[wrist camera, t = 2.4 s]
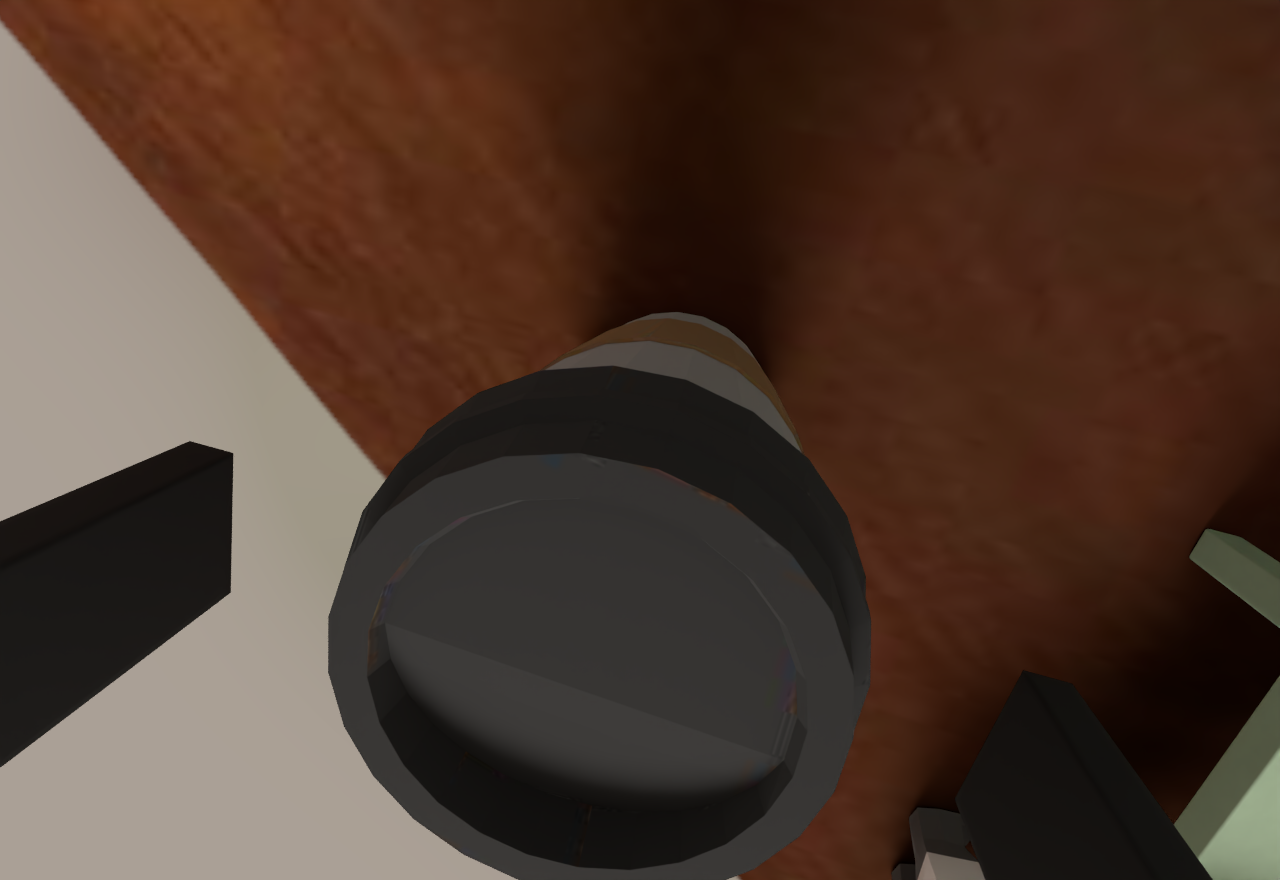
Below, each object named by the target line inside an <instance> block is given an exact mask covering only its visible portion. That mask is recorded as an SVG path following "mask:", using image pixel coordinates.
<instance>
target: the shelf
mask: <svg viewBox="0 0 1280 880" xmlns="http://www.w3.org/2000/svg"><path fill="white" fill-rule="evenodd" d="M1189 558H1190V559H1191V560H1192V561H1193V562H1195V563H1196V564H1197V565H1199V566H1200V567H1201V568H1202V569H1204V570H1205V571H1206V572H1208V573H1209V574H1210V575H1211V576H1213V577H1214V578H1215V579H1217V580H1218V581H1219V582H1221V583H1222V584H1223V585H1224V586H1226V587H1227V588H1228V589H1230V590H1231V591H1232V592H1234V593H1235V594H1236V595H1237V596H1239V597H1240V598H1241V599H1243V600H1244V601H1245V602H1246V603H1248V604H1249V605H1250V606H1252V607H1253V608H1254V609H1256V610H1257V611H1258V612H1259V613H1261V614H1262V615H1263V616H1265V617H1266V618H1267V619H1268V620H1270V621H1271V622H1272V623H1274V624H1275V625H1276V626H1278V627H1279V628H1280V562H1278V561H1277V560H1275V559H1274V558H1272V557H1271V556H1269V555H1267V554H1266V553H1264V552H1263V551H1261V550H1260V549H1258V548H1257V547H1255V546H1254V545H1252V544H1251V543H1249V542H1248V541H1246V540H1244V539H1243V538H1241V537H1238V536H1234V535H1231V534H1227V533H1223V532H1219V531H1215V530H1212V529H1206V530H1205V531H1204V533H1203V534H1202V536H1201V538H1200V539H1199V541H1198V543H1197V544H1196V546H1195V548H1194V549H1193V551H1192V553H1191V554H1190V556H1189ZM1174 826H1175V827H1176V829H1177V830H1178V832H1179V833H1180V834H1181V836H1182V837H1183V839H1184V840H1185V841H1186V843H1187V844H1188V846H1189V847H1190V848H1191V850H1192V851H1193V853H1194V854H1195V855H1196V857H1197V858H1198V859H1199V861H1200V862H1201V864H1202V865H1203V866H1204V868H1205V869H1206V871H1207V872H1208V873H1209V875H1210V876H1211V878H1212V879H1213V880H1280V676H1279V677H1278V679H1277V680H1276V681H1275V683H1274V684H1273V686H1272V687H1271V688H1270V690H1269V691H1268V693H1267V694H1266V695H1265V697H1264V698H1263V700H1262V701H1261V702H1260V704H1259V705H1258V707H1257V708H1256V709H1255V711H1254V712H1253V714H1252V715H1251V717H1250V718H1249V719H1248V721H1247V722H1246V724H1245V725H1244V726H1243V728H1242V729H1241V731H1240V732H1239V733H1238V735H1237V736H1236V738H1235V739H1234V740H1233V742H1232V743H1231V745H1230V746H1229V748H1228V749H1227V750H1226V752H1225V753H1224V755H1223V756H1222V757H1221V759H1220V760H1219V762H1218V763H1217V764H1216V766H1215V767H1214V769H1213V770H1212V771H1211V773H1210V774H1209V776H1208V777H1207V778H1206V780H1205V781H1204V783H1203V784H1202V786H1201V787H1200V788H1199V790H1198V791H1197V793H1196V794H1195V795H1194V797H1193V798H1192V800H1191V801H1190V802H1189V804H1188V805H1187V807H1186V808H1185V809H1184V811H1183V812H1182V814H1181V815H1180V816H1179V818H1178V819H1177V821H1176V822H1175V824H1174Z"/></svg>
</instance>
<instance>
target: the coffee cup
mask: <svg viewBox="0 0 1280 880" xmlns="http://www.w3.org/2000/svg"><path fill="white" fill-rule="evenodd" d="M865 596H866V576H865V573H864V570H863V567H862V563H861V560H860V557H859V554H858V550H857V547H856V544H855V541H854V537H853V534H852V531H851V528H850V524H849V521H848V518H847V515H846V514H845V512H844V511H843V509H842V508H841V506H840V505H839V503H838V502H837V500H836V499H835V497H834V496H833V494H832V493H831V491H830V490H829V488H828V487H827V485H826V484H825V482H824V481H823V480H822V478H821V477H820V475H819V474H818V472H817V471H816V469H815V468H814V466H813V465H812V463H811V462H810V460H809V459H808V458H807V457H806V456H805V455H804V452H803V449H802V446H801V443H800V440H799V437H798V434H797V432H796V430H795V428H794V426H793V424H792V422H791V420H790V418H789V416H788V414H787V412H786V410H785V408H784V406H783V404H782V402H781V400H780V398H779V396H778V395H777V393H776V391H775V389H774V387H773V385H772V383H771V382H770V380H769V379H768V377H767V376H766V374H765V373H764V371H763V370H762V369H761V367H760V365H759V363H758V362H757V360H756V359H755V357H754V356H753V354H752V353H751V351H750V350H749V348H748V347H747V345H746V344H744V343H743V342H742V341H741V340H740V339H739V338H738V337H736V336H735V335H734V334H733V333H732V332H731V331H729V330H728V329H727V328H726V327H723V326H721V325H719V324H717V323H715V322H713V321H711V320H709V319H707V318H705V317H702V316H697V315H691V314H686V313H681V312H670V313H658V314H650V315H648V316H645V317H642V318H639V319H636V320H634V321H631V322H628V323H626V324H625V325H623V326H620V327H617V328H614V329H611V330H608V331H606V332H604V333H602V334H601V335H599V336H597V337H595V338H593V339H591V340H589V341H588V342H586V343H584V344H582V345H580V346H578V347H576V348H575V349H573V350H571V351H569V352H567V353H565V354H563V355H562V356H560V357H559V358H557V359H556V360H554V361H553V362H551V363H550V364H549V365H547V366H546V367H544V368H543V369H541V370H540V371H538V372H535V373H533V374H530V375H527V376H524V377H521V378H519V379H516V380H513V381H510V382H507V383H504V384H502V385H499V386H496V387H493V388H490V389H487V390H485V391H482V392H479V393H477V394H476V395H474V396H473V397H472V398H470V399H469V400H468V401H466V402H465V403H464V404H462V405H461V406H459V407H458V408H457V409H455V410H454V411H453V412H451V413H450V414H448V415H447V416H446V417H444V418H443V419H442V420H440V421H439V422H437V423H436V424H435V425H433V426H432V427H431V428H429V429H428V430H427V431H426V433H425V434H424V435H423V437H422V438H421V439H420V441H419V442H418V443H417V445H416V446H415V447H414V449H413V450H411V451H410V452H409V453H407V454H406V455H405V456H404V457H403V458H402V459H401V460H400V461H399V463H398V464H397V465H396V467H395V468H394V469H393V471H392V472H391V474H390V475H389V476H388V478H387V479H386V480H385V482H384V483H383V484H382V486H381V487H380V489H379V490H378V491H377V493H376V494H375V496H374V497H373V498H372V499H371V501H370V502H369V503H368V505H367V506H366V508H365V509H364V510H363V512H362V515H361V518H360V521H359V524H358V527H357V530H356V534H355V536H354V539H353V542H352V546H351V549H350V552H349V555H348V558H347V561H346V564H345V567H344V571H343V574H342V577H341V580H340V583H339V586H338V589H337V593H336V596H335V599H334V602H333V605H332V608H331V611H330V614H329V624H328V625H329V629H328V630H329V631H328V634H329V635H328V638H329V641H328V642H329V644H328V646H329V647H328V648H329V649H328V650H329V651H328V653H329V654H328V659H329V660H328V663H329V664H328V673H329V676H330V680H331V683H332V686H333V689H334V693H335V697H336V700H337V704H338V707H339V710H340V714H341V717H342V721H343V724H344V727H345V729H346V730H347V732H348V734H349V735H350V737H351V739H352V741H353V742H354V744H355V746H356V747H357V749H358V751H359V752H360V754H361V756H362V757H363V759H364V761H365V763H366V764H367V766H368V768H369V769H370V771H371V773H372V774H373V776H374V777H375V778H376V779H377V780H378V781H379V783H380V784H382V786H383V787H384V788H385V789H386V790H387V791H388V792H389V793H390V794H391V795H392V796H393V797H394V798H395V799H396V801H397V802H399V804H400V805H401V806H402V807H403V808H404V809H405V810H406V811H407V812H408V813H409V814H410V816H412V818H413V819H414V820H416V821H417V822H419V823H420V824H421V825H423V826H425V827H426V828H427V829H428V830H430V831H431V832H433V833H434V834H435V835H437V836H438V837H440V838H441V839H442V840H444V841H445V842H447V843H448V844H450V845H451V846H453V847H454V848H455V849H457V850H458V851H459V852H461V853H463V854H464V855H466V856H468V857H470V858H472V859H475V860H477V861H479V862H481V863H483V864H485V865H488V866H490V867H492V868H494V869H496V870H498V871H501V872H503V873H505V874H507V875H509V876H511V877H514V878H516V879H518V880H727V879H729V878H732V877H735V876H737V875H740V874H743V873H745V872H748V871H750V870H753V869H754V868H756V867H757V866H759V865H760V864H761V863H763V862H764V861H766V860H767V859H768V858H770V857H771V856H773V855H774V854H776V853H777V852H778V851H780V850H781V849H783V848H784V847H785V846H787V845H788V844H790V843H791V842H792V841H794V840H795V839H797V838H798V837H799V836H800V835H801V834H802V833H803V831H804V830H805V829H806V827H807V826H808V825H809V824H810V822H811V821H812V820H813V818H814V817H815V816H816V815H817V813H818V812H819V811H820V809H821V808H822V807H823V806H824V804H825V803H826V802H827V800H828V799H829V798H830V797H831V795H832V794H833V793H834V791H835V788H836V785H837V783H838V780H839V777H840V774H841V771H842V768H843V766H844V763H845V760H846V757H847V754H848V751H849V748H850V746H851V743H852V740H853V732H854V729H855V726H856V723H857V720H858V717H859V715H860V712H861V709H862V706H863V703H864V700H865V698H866V695H867V692H868V689H869V686H870V656H871V618H870V612H869V608H868V605H867V602H866V598H865Z"/></svg>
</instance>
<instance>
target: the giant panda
mask: <svg viewBox="0 0 1280 880" xmlns="http://www.w3.org/2000/svg"><path fill="white" fill-rule="evenodd" d="M909 823H910V831H911V838H912V844H913V850H914V856H915V864H899V865H898V866H897V867H896V868H895V869H894V871H893V872H892V873H891V874H892V880H985V878H984V875H983V873H982V870H981V868H980V865H979V862H978V860H977V859H976V858H975V857H974V856H973V855H972V854H971V853H970V852H969V851H968V850H967V849H966V848H965V846H966V845H967V844H968V843H969V841H970V838H969V836H968V833H967V830H966V828H965V825H964V823H963V820H962V817H961V815H960V814H958V813H954V812H950V811H946V810H942V809H933V808H917V809H916V810H915V811H914V812H913V814H912V815H911V816H910V817H909Z"/></svg>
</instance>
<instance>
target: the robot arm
mask: <svg viewBox="0 0 1280 880" xmlns="http://www.w3.org/2000/svg"><path fill="white" fill-rule="evenodd" d="M232 492H233V453H231V452H227V451H224V450H220V449H216V448H213V447H209V446H205V445H202V444H198V443H194V442H191V441H189V442H187V443H184V444H182V445H180V446H177V447H175V448H173V449H170V450H168V451H166V452H163V453H161V454H159V455H156V456H154V457H151V458H149V459H147V460H144V461H142V462H140V463H137V464H135V465H133V466H130V467H128V468H126V469H123V470H121V471H119V472H116V473H114V474H111V475H109V476H107V477H104V478H102V479H100V480H97V481H95V482H93V483H90V484H88V485H85V486H83V487H81V488H78V489H76V490H74V491H71V492H69V493H66V494H64V495H62V496H59V497H57V498H55V499H52V500H50V501H48V502H45V503H43V504H41V505H38V506H36V507H33V508H31V509H29V510H26V511H24V512H22V513H19V514H17V515H15V516H12V517H10V518H7V519H5V520H3V521H0V767H2V766H3V765H4V764H6V763H7V762H8V761H9V760H11V759H12V758H13V757H15V756H16V755H17V754H19V753H20V752H21V751H23V750H24V749H25V748H27V747H28V746H29V745H31V744H32V743H33V742H35V741H36V740H37V739H38V738H40V737H41V736H42V735H44V734H45V733H46V732H48V731H49V730H50V729H51V728H53V727H54V726H56V725H57V724H58V723H60V722H61V721H62V720H63V719H65V718H66V717H67V716H69V715H70V714H71V713H73V712H74V711H75V710H77V709H78V708H79V707H81V706H82V705H83V704H84V703H86V702H87V701H89V700H90V699H91V698H92V697H94V696H95V695H96V694H98V693H99V692H100V691H102V690H103V689H104V688H105V687H107V686H108V685H109V684H111V683H112V682H113V681H115V680H116V679H117V678H119V677H120V676H121V675H123V674H124V673H125V672H127V671H128V670H129V669H131V668H132V667H133V666H135V665H136V664H137V663H138V662H140V661H141V660H142V659H144V658H145V657H146V656H147V655H149V654H150V653H152V652H153V651H154V650H155V649H157V648H158V647H160V646H161V645H162V644H163V643H165V642H166V641H167V640H169V639H170V638H171V637H173V636H174V635H175V634H177V633H178V632H179V631H181V630H182V629H183V628H185V627H186V626H187V625H189V624H190V623H191V622H192V621H194V620H195V619H196V618H198V617H199V616H200V615H202V614H203V613H204V612H206V611H207V610H208V609H210V608H211V607H212V606H213V605H215V604H216V603H218V602H219V601H220V600H221V599H223V598H224V597H225V596H227V595H228V594H229V593H230V592H231V543H232V539H231V538H232ZM955 801H956V804H957V807H958V809H959V812H960V815H961V817H962V820H963V823H964V825H965V828H966V830H967V833H968V836H969V838H970V841H971V844H972V846H973V849H974V852H975V854H976V857H977V860H978V862H979V865H980V868H981V870H982V873H983V875H984V878H985V880H1213V879H1212V878H1211V876H1210V875H1209V873H1208V872H1207V871H1206V869H1205V868H1204V866H1203V865H1202V864H1201V862H1200V861H1199V859H1198V858H1197V857H1196V855H1195V854H1194V853H1193V851H1192V850H1191V848H1190V847H1189V846H1188V844H1187V843H1186V841H1185V840H1184V839H1183V837H1182V836H1181V834H1180V833H1179V832H1178V830H1177V829H1176V827H1175V826H1174V825H1173V823H1172V822H1171V821H1170V819H1169V818H1168V816H1167V815H1166V814H1165V812H1164V811H1163V809H1162V808H1161V807H1160V805H1159V804H1158V802H1157V801H1156V800H1155V798H1154V797H1153V795H1152V794H1151V793H1150V791H1149V790H1148V789H1147V787H1146V786H1145V784H1144V783H1143V782H1142V780H1141V779H1140V777H1139V776H1138V775H1137V773H1136V772H1135V770H1134V769H1133V768H1132V766H1131V765H1130V763H1129V762H1128V761H1127V759H1126V758H1125V757H1124V755H1123V754H1122V752H1121V751H1120V750H1119V748H1118V747H1117V745H1116V744H1115V743H1114V741H1113V740H1112V738H1111V737H1110V736H1109V734H1108V733H1107V731H1106V730H1105V729H1104V727H1103V726H1102V725H1101V723H1100V722H1099V720H1098V719H1097V718H1096V716H1095V715H1094V713H1093V712H1092V711H1091V709H1090V708H1089V706H1088V705H1087V704H1086V702H1085V701H1084V699H1083V698H1082V697H1081V695H1080V694H1079V693H1078V691H1077V690H1076V688H1075V687H1074V686H1073V684H1071V683H1068V682H1064V681H1060V680H1057V679H1053V678H1050V677H1046V676H1042V675H1039V674H1035V673H1031V672H1028V671H1024V670H1023V672H1022V674H1021V675H1020V677H1019V679H1018V681H1017V683H1016V685H1015V687H1014V689H1013V690H1012V692H1011V694H1010V696H1009V698H1008V700H1007V702H1006V704H1005V705H1004V707H1003V709H1002V711H1001V713H1000V715H999V717H998V719H997V720H996V722H995V724H994V726H993V728H992V730H991V732H990V734H989V735H988V737H987V739H986V741H985V743H984V745H983V747H982V749H981V750H980V752H979V754H978V756H977V758H976V760H975V762H974V764H973V765H972V767H971V769H970V771H969V773H968V775H967V777H966V779H965V780H964V782H963V784H962V786H961V788H960V790H959V792H958V794H957V795H956V797H955Z"/></svg>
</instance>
